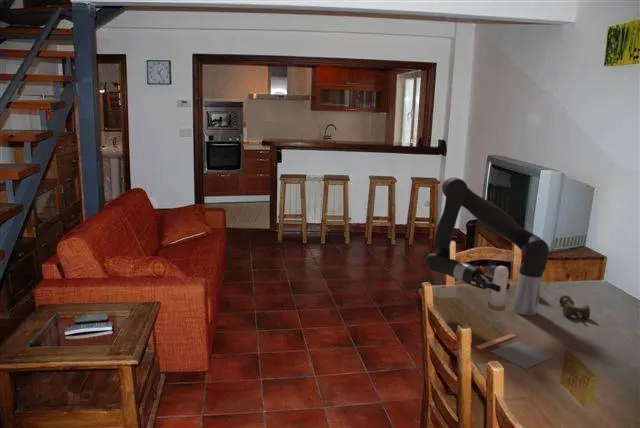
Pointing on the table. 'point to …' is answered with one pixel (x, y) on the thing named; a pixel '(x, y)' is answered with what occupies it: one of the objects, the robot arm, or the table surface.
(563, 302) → the kendama
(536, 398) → the table surface
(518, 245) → the robot arm
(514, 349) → the mat
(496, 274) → the skittle
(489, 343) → the distance line
